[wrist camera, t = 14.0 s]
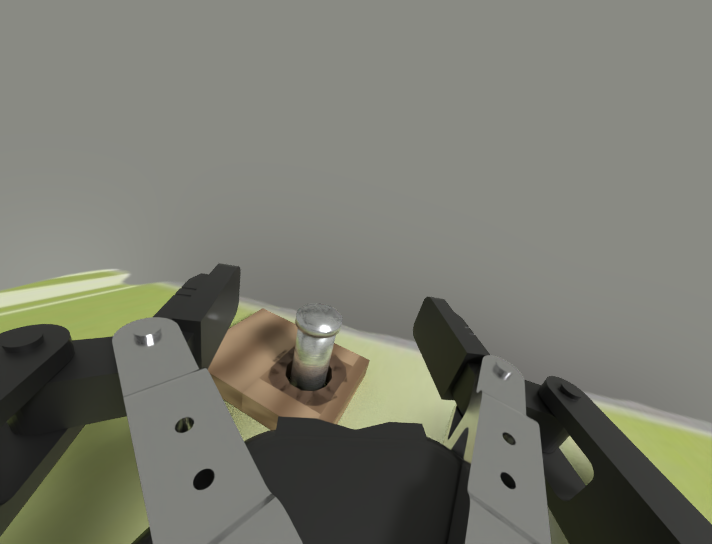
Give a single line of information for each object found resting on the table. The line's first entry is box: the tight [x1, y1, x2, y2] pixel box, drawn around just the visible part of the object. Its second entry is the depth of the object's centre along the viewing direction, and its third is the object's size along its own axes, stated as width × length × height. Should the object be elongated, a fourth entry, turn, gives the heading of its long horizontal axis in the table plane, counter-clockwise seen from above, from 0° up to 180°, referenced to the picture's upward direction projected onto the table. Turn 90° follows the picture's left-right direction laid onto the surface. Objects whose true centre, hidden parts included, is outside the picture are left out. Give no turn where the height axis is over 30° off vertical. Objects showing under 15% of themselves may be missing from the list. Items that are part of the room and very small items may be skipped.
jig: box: [208, 309, 370, 430], centre depth 36 cm, size 20×14×3 cm
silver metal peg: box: [290, 303, 342, 391], centre depth 33 cm, size 5×5×12 cm
